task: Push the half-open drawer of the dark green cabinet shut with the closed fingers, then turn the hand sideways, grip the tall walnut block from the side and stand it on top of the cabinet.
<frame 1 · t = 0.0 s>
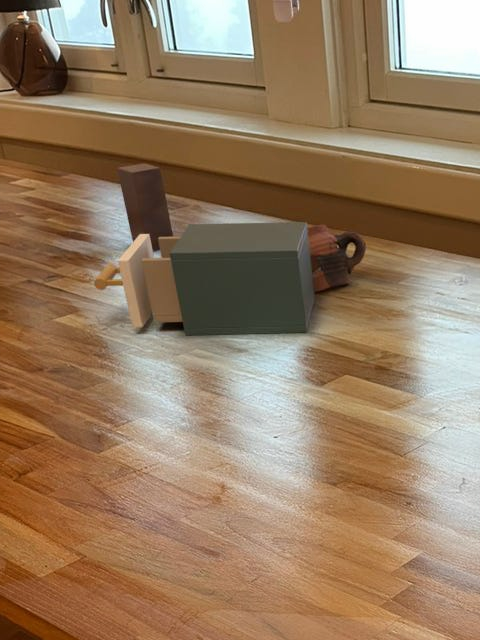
hand: (287, 17, 103), 32 cm above the table, tool pointing down, fingers open, 8 cm apart
cabinet: (252, 316, 121), on the table
drawer: (174, 279, 118), point 5 cm above the table, slide at 5.0 cm
block: (154, 246, 147), on the table
pottery mug: (325, 282, 133), on the table
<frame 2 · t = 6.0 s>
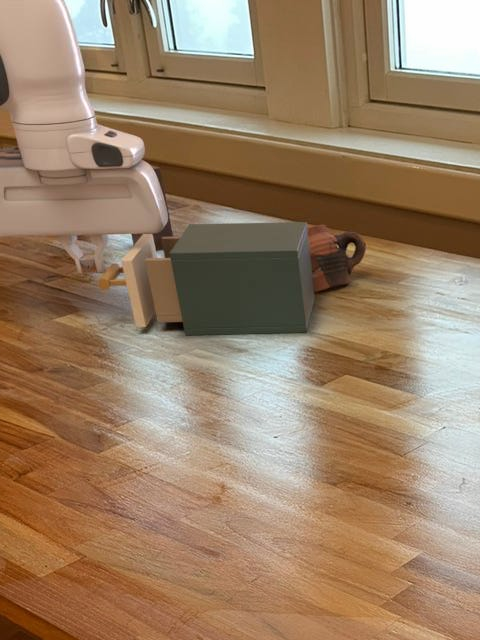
hand: (92, 272, 117), 6 cm above the table, tool pointing down, fingers closed
drawer: (177, 279, 118), point 5 cm above the table, slide at 4.6 cm, touching gripper
everything else where it was.
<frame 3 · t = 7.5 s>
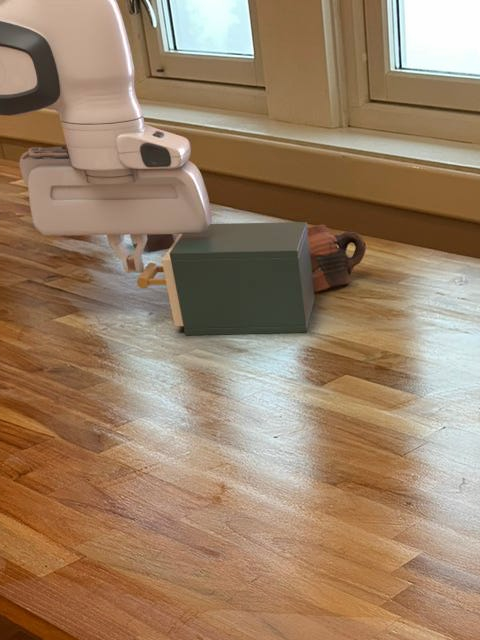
hand: (135, 271, 117), 6 cm above the table, tool pointing down, fingers closed
drawer: (215, 278, 118), point 5 cm above the table, slide at 0.0 cm, touching cabinet, gripper
everything else where it was.
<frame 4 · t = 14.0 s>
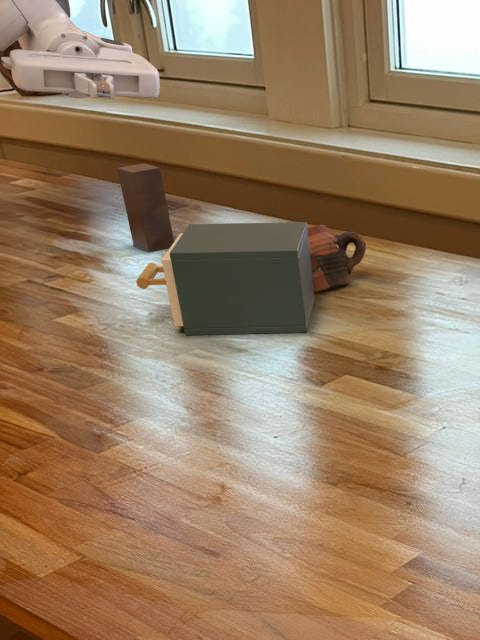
hand: (103, 92, 136), 20 cm above the table, tool horizontal, fingers closed
drawer: (215, 278, 118), point 5 cm above the table, slide at 0.0 cm, touching cabinet
everything else where it was.
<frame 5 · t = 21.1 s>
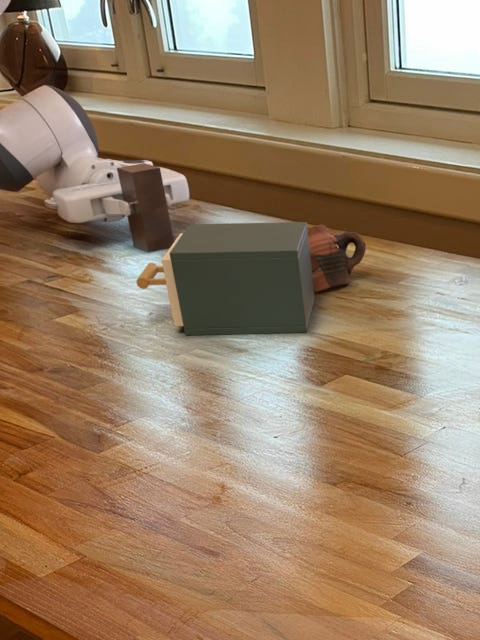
hand: (149, 205, 143), 6 cm above the table, tool horizontal, fingers closed on block, 4 cm apart
block: (154, 246, 147), on the table, touching gripper
everything else where it was.
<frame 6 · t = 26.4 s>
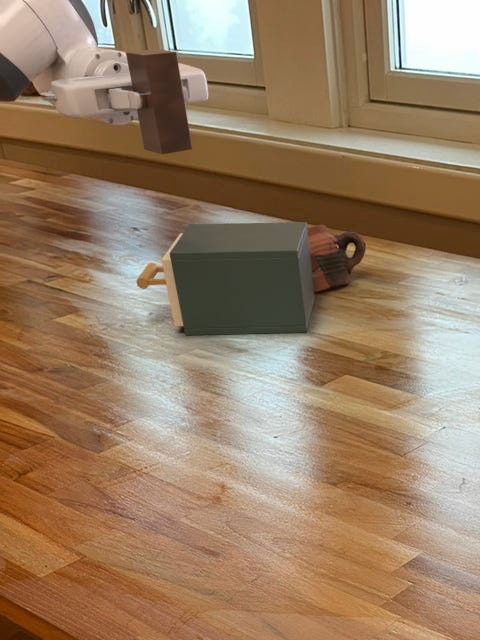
hand: (163, 98, 122), 22 cm above the table, tool horizontal, fingers closed on block, 4 cm apart
block: (168, 149, 126), point 16 cm above the table, touching gripper
everything else where it was.
when the fingers open (16 cm above the table, at t = 31.8 s): block stays where it is, resting on cabinet.
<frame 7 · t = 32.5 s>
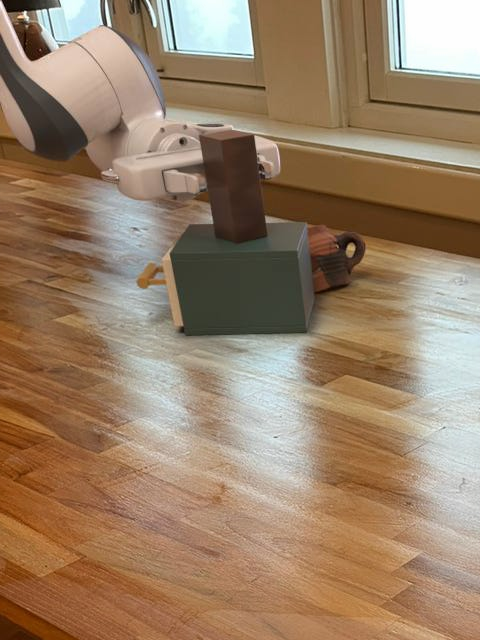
hand: (236, 178, 111), 16 cm above the table, tool horizontal, fingers open, 8 cm apart
block: (241, 236, 116), point 10 cm above the table, touching cabinet
everything else where it was.
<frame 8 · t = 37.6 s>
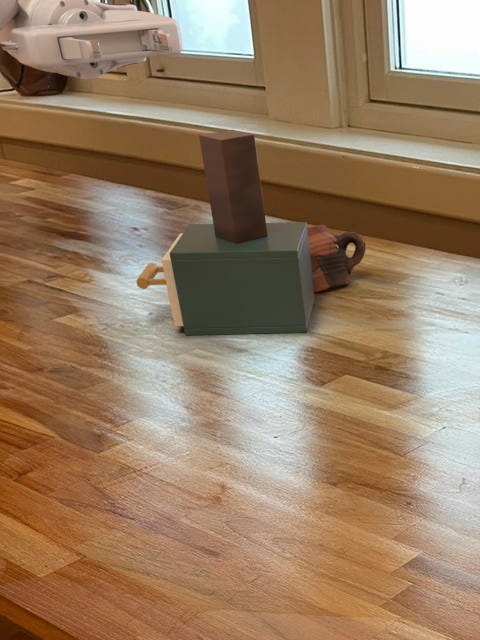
hand: (131, 46, 114), 28 cm above the table, tool horizontal, fingers open, 8 cm apart
nothing on the table moved.
at the end: drawer slide at 0.0 cm; block inside the target area on the cabinet (0.1 cm from its centre), point 9.6 cm above the cabinet's base; block tilted 0° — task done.
